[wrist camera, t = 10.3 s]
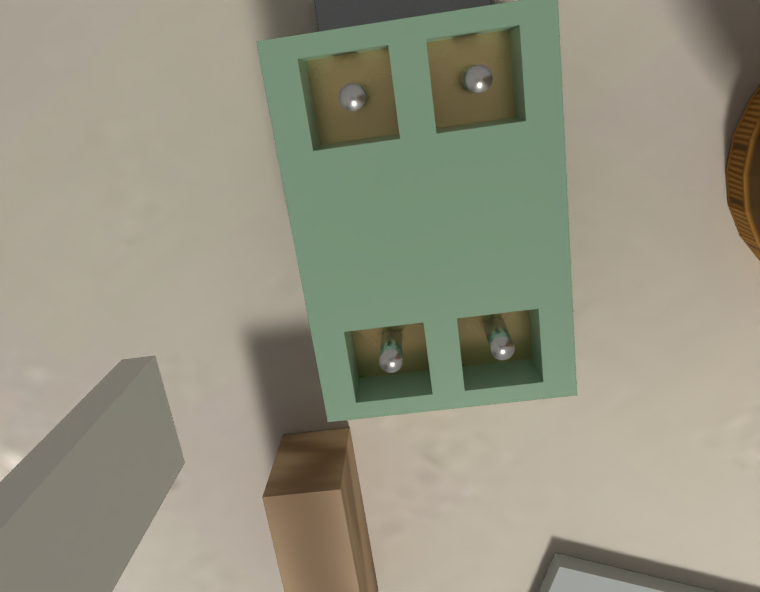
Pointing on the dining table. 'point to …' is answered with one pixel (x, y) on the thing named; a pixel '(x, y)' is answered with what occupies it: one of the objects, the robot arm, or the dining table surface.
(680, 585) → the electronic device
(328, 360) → the board
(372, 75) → the chassis
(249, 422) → the dining table surface
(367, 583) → the brown rectangular block
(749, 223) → the vase
